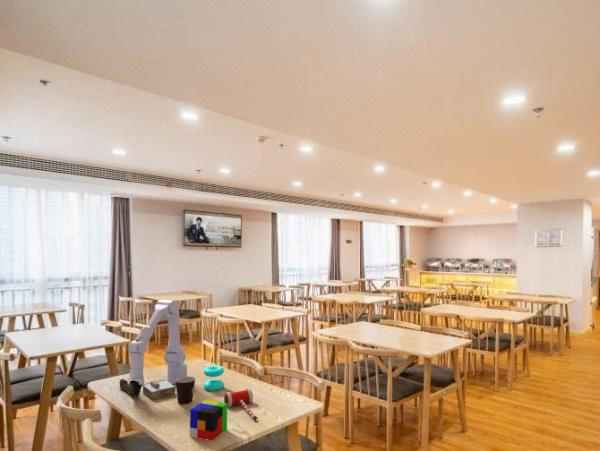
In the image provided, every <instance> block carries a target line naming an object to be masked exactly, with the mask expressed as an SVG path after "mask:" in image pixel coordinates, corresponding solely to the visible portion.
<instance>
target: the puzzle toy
mask: <svg viewBox="0 0 600 451" xmlns="http://www.w3.org/2000/svg"><path fill="white" fill-rule="evenodd" d="M189 418H190V419H189V437H191V438H195V437H196V438H195V439H200V438H202V439H201V440H204V439H208V440H207V441H209V440H213V441H215V440H216V439H217V438H219V435H220V434H221V433H222V432H223V433H225V432H226V431H227V430H228V408H227V403H224V402H222V401H221V402H219V401H214V400H208V399H205V400H203V401H201V402H200V403H198V404H197V405H195V406H194V407H192V408H190V411H189ZM226 429H227V430H226ZM225 430H226V431H225ZM224 431H225V432H224ZM223 433H222V434H223ZM222 434H221V435H222ZM221 435H220V436H221ZM216 437H217V438H216ZM215 438H216V439H215ZM214 439H215V440H214Z"/></svg>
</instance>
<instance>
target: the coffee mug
mask: <svg viewBox="0 0 600 451" xmlns="http://www.w3.org/2000/svg"><path fill="white" fill-rule="evenodd" d="M195 382H196V378H195V376H191V375H189V376H188V375H187V376H186V377H180V378H178V379H176V383H175V386H176V388H175V389H176V396H177V398H176V399H177V404H179V405H188V404H191V403H193V401H194V400H193V398H194V391H195V385H196V384H195Z"/></svg>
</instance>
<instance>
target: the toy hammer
mask: <svg viewBox="0 0 600 451" xmlns="http://www.w3.org/2000/svg"><path fill="white" fill-rule="evenodd" d="M253 398H254V394H253V391H252V389H251V388H245V389H243V390H239V391H234V392H230V391H227V392H225V393H224V396H223V403H227V407H228V408H231V407H233V406H238V405H241V406H242V407H243V408H244V409H245V411H247V413H248V414H249V416H250V417H251V418H252V419H253V420H256V419H257V420H258V417H257V415H255V414H254V413H253V411H251V409H250V408H249V407H248V405H247V404H248V403H249V404H252V402H253V400H254V399H253ZM228 408H227V409H228ZM253 420H252V421H253Z"/></svg>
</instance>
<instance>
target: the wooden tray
mask: <svg viewBox="0 0 600 451" xmlns="http://www.w3.org/2000/svg"><path fill="white" fill-rule="evenodd" d="M165 380H166V379H161V380H157V381H156V380H155V381H156V382H160V381H165ZM146 384H151V382H147V383H144V384H143V385H146ZM143 385H142V393H143V394H144V395H145V396H146V397H147V398H149V399H150V400H152V401H153V400H154V401H155V400H158V399H162V398H163V399H164V398H166V397H171V396H174V395H176V389H177V388H176V385H173V386H174V387H170V388H165V389H161V390H157V391H152V393H151V392H150V391H149V390H147V389H146V388H145V387H143Z"/></svg>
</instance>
